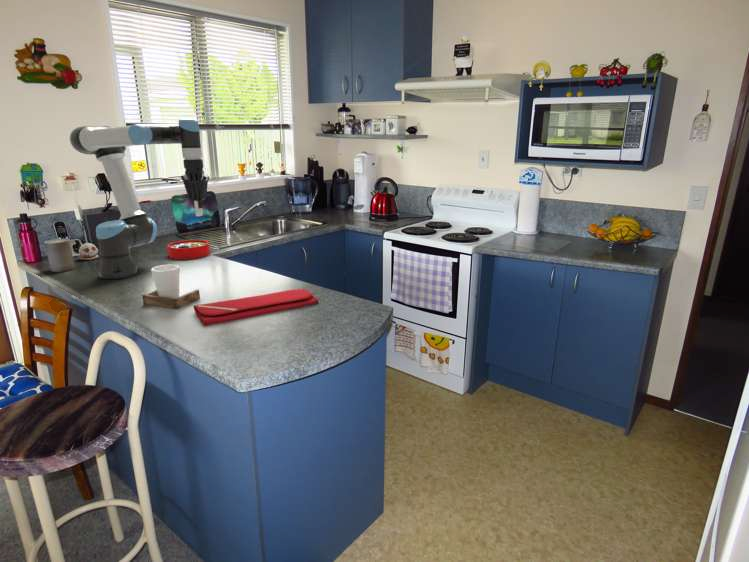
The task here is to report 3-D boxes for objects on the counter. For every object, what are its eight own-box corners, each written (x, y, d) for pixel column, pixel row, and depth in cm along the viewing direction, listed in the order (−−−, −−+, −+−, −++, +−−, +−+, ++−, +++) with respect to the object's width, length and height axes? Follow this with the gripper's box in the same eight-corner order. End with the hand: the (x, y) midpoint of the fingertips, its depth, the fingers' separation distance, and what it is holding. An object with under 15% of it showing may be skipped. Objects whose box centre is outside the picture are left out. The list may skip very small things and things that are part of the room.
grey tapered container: (77, 265, 228) (71, 234, 224) (72, 271, 219) (65, 238, 215) (54, 267, 225) (47, 236, 221) (47, 273, 217) (40, 240, 212)
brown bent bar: (168, 294, 186) (166, 285, 185) (200, 298, 181) (199, 289, 180) (143, 304, 175) (142, 295, 174) (177, 309, 170) (175, 299, 169)
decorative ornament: (84, 261, 236) (78, 231, 232) (78, 259, 241) (72, 229, 236) (101, 258, 242) (95, 229, 237) (95, 256, 247) (89, 227, 242)
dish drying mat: (319, 304, 175) (319, 295, 174) (204, 328, 155) (203, 317, 154) (302, 293, 188) (301, 284, 187) (193, 313, 168) (192, 303, 166)
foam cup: (189, 299, 181) (184, 266, 177) (170, 307, 173) (165, 272, 169) (170, 296, 184) (165, 263, 180) (150, 303, 176) (145, 269, 172)
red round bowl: (203, 238, 260) (212, 245, 243) (205, 248, 261) (214, 256, 245) (164, 242, 250) (170, 250, 233) (166, 253, 251) (172, 261, 235)
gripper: (211, 158, 198) (217, 215, 205) (186, 158, 202) (193, 213, 209) (199, 159, 191) (206, 218, 198) (173, 158, 195) (180, 216, 202)
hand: (199, 215), depth 203 cm, fingers closed
